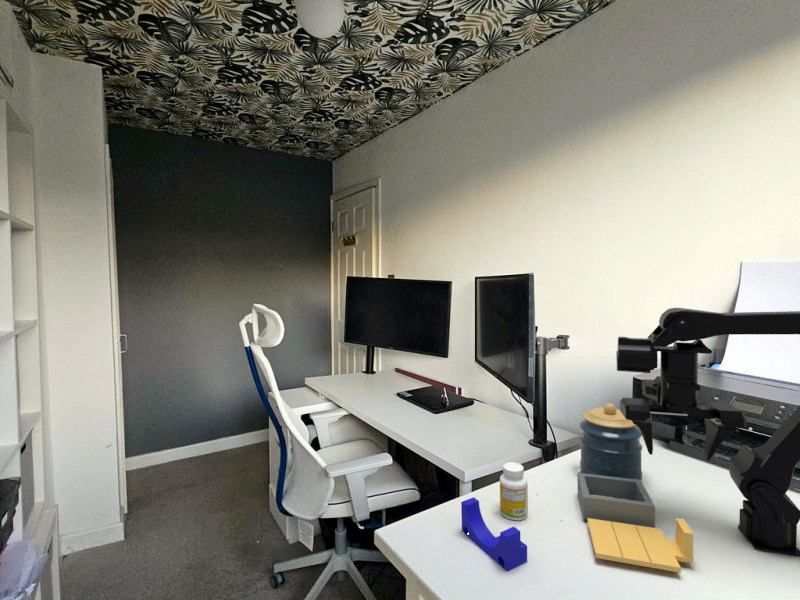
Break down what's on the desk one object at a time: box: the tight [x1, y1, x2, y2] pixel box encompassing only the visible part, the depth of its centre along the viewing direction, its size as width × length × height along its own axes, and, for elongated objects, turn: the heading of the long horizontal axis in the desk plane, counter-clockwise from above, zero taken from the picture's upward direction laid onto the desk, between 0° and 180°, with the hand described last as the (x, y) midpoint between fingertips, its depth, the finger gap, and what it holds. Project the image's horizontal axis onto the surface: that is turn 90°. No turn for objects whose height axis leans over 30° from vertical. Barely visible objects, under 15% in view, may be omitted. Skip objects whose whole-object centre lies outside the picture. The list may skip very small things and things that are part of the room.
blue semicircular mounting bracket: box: [460, 497, 528, 572], centre depth 70 cm, size 12×4×6 cm, turn 29°
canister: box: [579, 402, 643, 481], centre depth 93 cm, size 13×13×18 cm
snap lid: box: [587, 517, 694, 573], centre depth 67 cm, size 15×10×6 cm
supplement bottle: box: [499, 461, 529, 521], centre depth 79 cm, size 5×5×10 cm
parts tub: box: [577, 472, 656, 528], centre depth 79 cm, size 12×10×5 cm
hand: (678, 456), depth 74 cm, fingers open, 9 cm apart
